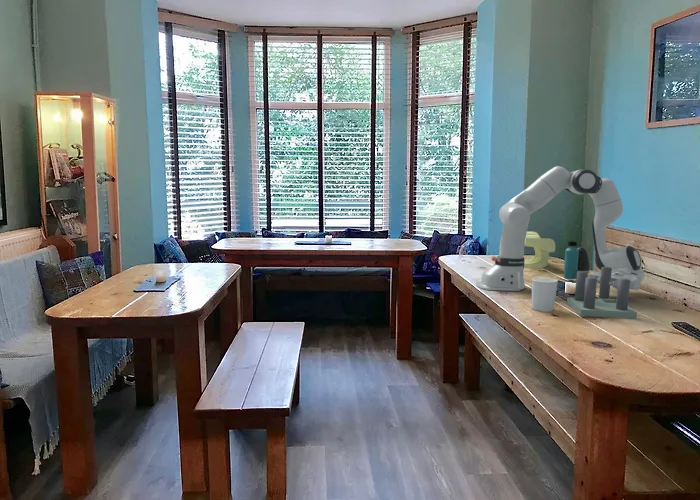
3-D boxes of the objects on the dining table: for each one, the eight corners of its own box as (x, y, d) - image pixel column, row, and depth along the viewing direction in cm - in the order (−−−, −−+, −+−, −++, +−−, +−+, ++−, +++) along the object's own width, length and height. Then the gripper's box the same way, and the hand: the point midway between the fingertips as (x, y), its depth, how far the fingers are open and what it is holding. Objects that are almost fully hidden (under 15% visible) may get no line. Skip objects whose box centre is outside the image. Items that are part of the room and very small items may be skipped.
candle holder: (555, 307, 222) (557, 278, 220) (555, 313, 213) (558, 283, 211) (529, 305, 225) (531, 276, 223) (529, 310, 216) (531, 280, 214)
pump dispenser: (568, 276, 284) (570, 247, 281) (568, 273, 293) (570, 245, 291) (589, 278, 280) (592, 249, 278) (589, 274, 290) (591, 246, 287)
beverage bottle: (578, 282, 270) (581, 242, 266) (563, 282, 271) (566, 241, 268) (575, 280, 276) (578, 240, 273) (561, 279, 277) (564, 240, 274)
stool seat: (636, 318, 207) (639, 282, 205) (580, 316, 209) (583, 280, 207) (617, 305, 227) (620, 271, 224) (566, 303, 229) (569, 270, 227)
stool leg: (602, 301, 233) (604, 268, 231) (596, 298, 237) (599, 266, 235) (610, 300, 234) (613, 268, 232) (605, 298, 238) (608, 266, 235)
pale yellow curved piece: (553, 270, 299) (555, 238, 297) (523, 270, 300) (525, 237, 297) (537, 261, 329) (539, 231, 326) (510, 260, 330) (512, 231, 327)
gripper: (597, 268, 250) (581, 271, 241) (644, 275, 234) (628, 279, 225) (596, 281, 251) (580, 285, 242) (642, 290, 235) (627, 294, 226)
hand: (604, 282), depth 234 cm, fingers closed on stool leg, 4 cm apart
